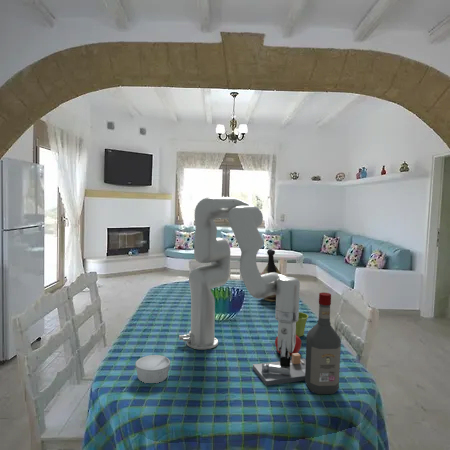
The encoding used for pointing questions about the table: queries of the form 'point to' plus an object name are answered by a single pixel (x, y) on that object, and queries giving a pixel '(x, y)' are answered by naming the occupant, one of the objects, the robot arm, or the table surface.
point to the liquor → (323, 352)
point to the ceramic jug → (269, 269)
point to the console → (274, 378)
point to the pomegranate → (296, 348)
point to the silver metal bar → (275, 369)
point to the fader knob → (296, 358)
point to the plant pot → (301, 324)
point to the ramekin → (152, 368)
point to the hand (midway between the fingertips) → (284, 368)
